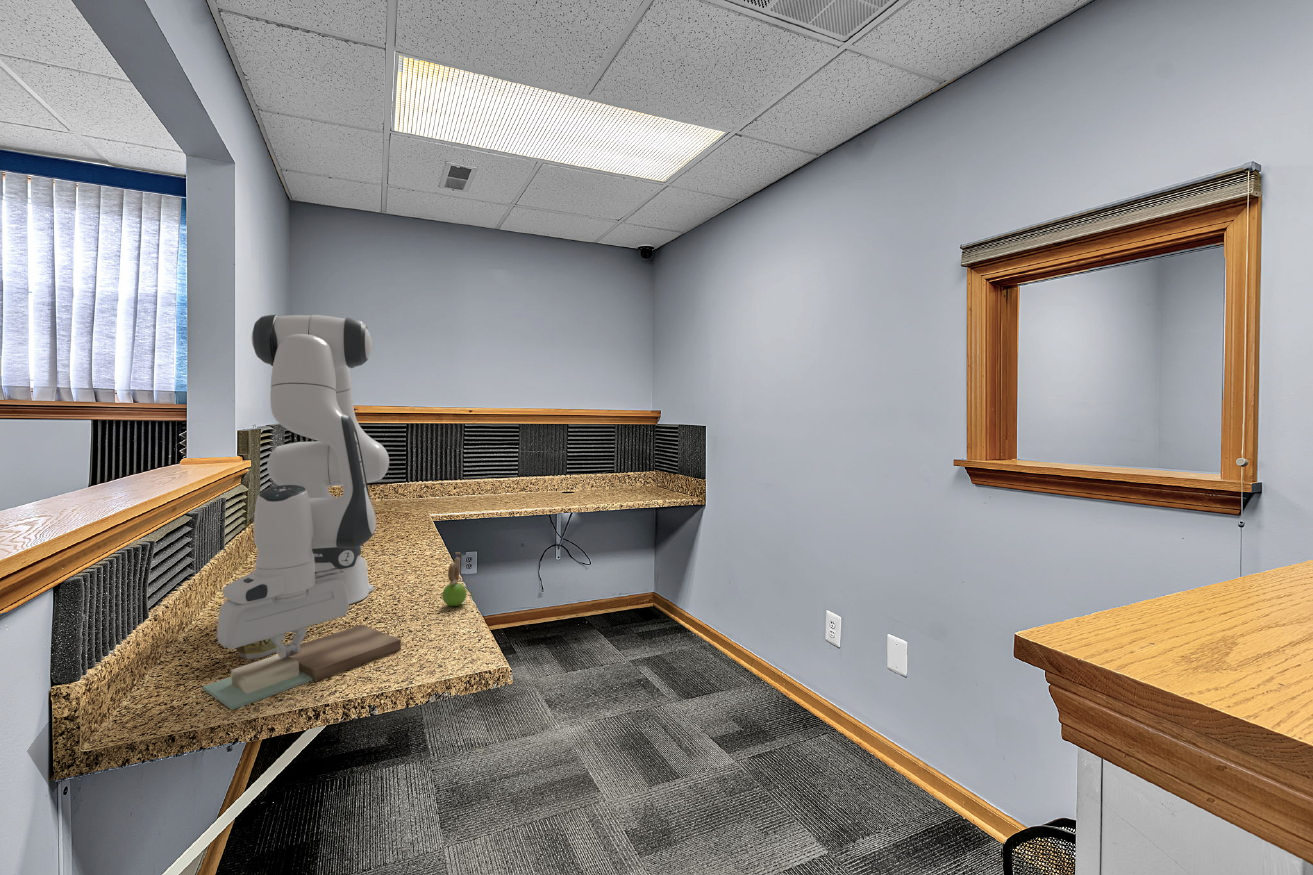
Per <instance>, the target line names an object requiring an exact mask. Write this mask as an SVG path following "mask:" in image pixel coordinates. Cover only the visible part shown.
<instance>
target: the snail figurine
mask: <svg viewBox="0 0 1313 875" xmlns="http://www.w3.org/2000/svg"><path fill="white" fill-rule="evenodd" d="M455 555H456V557H455V559H454V562H451V563H450V565H449V566H448V570H447V575H448V576H447V577H448V580H449V581H450V582H449V584H447V585H446V586H445V587H444V589H443V591H442V595H441V596H442V600H443V602H444V603H445V604H446V605H447V606H449V607H457V606H460V605H462V604H463V603H464V602H465V600H466V598H467V589H466V587H465V586H464V585H463V584H462V583H461V582H460V583H459V582H458V581H459V578H460V573H461V558H460V557H461V556H460V555H461V552H457V551H456V552H455Z"/></svg>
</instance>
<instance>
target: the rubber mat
mask: <svg viewBox="0 0 1313 875" xmlns="http://www.w3.org/2000/svg"><path fill="white" fill-rule="evenodd" d="M311 681H313V680H312V677H310V676H309V675H307V674H305V673H303V672H301V671H299V675H298V676H296V677H293V678H290V679H287V680H284V681H282V682H279V683H276V684H273V685H271V686H268V687H265V688H262V689H259V690H257V691H254V692H251V693H248V694H246V693H245V692H243V691H242V690H240V689H239V688H237V687H235V686H234V685H232V676H229V677H225V679H224V678H223V679H221V680H218V681H214V682H211V683H208V684H206V685H203V686H202V690H203V691H204V692H206V693H207V694H209V695H210V696H212V697H213V698H214V699H216V700H217V701H218V702H220V703H221V704H223V705H224V706H225V707H227V709H230V711H232V710H236V709H238V708H241V707H244V706H247V705H250V704H253V703H254V702H258V701H260V700H262V699H265V698H268V697H272V696H274V695H276V694H280V693H282V692H285V691H286V690H289V689H292V688H295V687H297V686H301V685H304V684H306V683H309V682H311Z"/></svg>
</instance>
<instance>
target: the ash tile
mask: <svg viewBox="0 0 1313 875" xmlns="http://www.w3.org/2000/svg"><path fill="white" fill-rule="evenodd" d="M230 672H231V674H230V675H231V676H230V677H232V685H234V686H235V687H237V688H239V689H240V690H242V691H243V692H245V693H246V694H248V693H251V692H254V691H257V690H259V689H262V688H265V687H268V686H271V685H273V684H276V683H279V682H282V681H284V680H287V679H290V678H293V677H296V676H298V675H299V661H297V660H295V659H293V658H291V657H286V658H283V659H281V658H280V657H279V656H278V654H276V655H273V656H271V657H266V658H265V659H260V660H258V661H253V662H252V663H248V664H245V665H241V666H239V667H236V668H233V669H231V670H230Z"/></svg>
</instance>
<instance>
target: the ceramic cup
mask: <svg viewBox="0 0 1313 875" xmlns="http://www.w3.org/2000/svg"><path fill="white" fill-rule="evenodd" d="M281 642H282V643H283V640H281ZM236 650H237V653H238V656H239V657H240V658H243V659H245V660H253V659H254V660H255V659H262V658H265V657H267V656H270V655H274V654H275V653H278V647H276V645H275V644H274V643H273V642H272V641H271V640H270V638H268V639H265V640H261V641H258V642H254V643H251V644H248V645H244V646H241V647H238V648H236Z"/></svg>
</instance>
